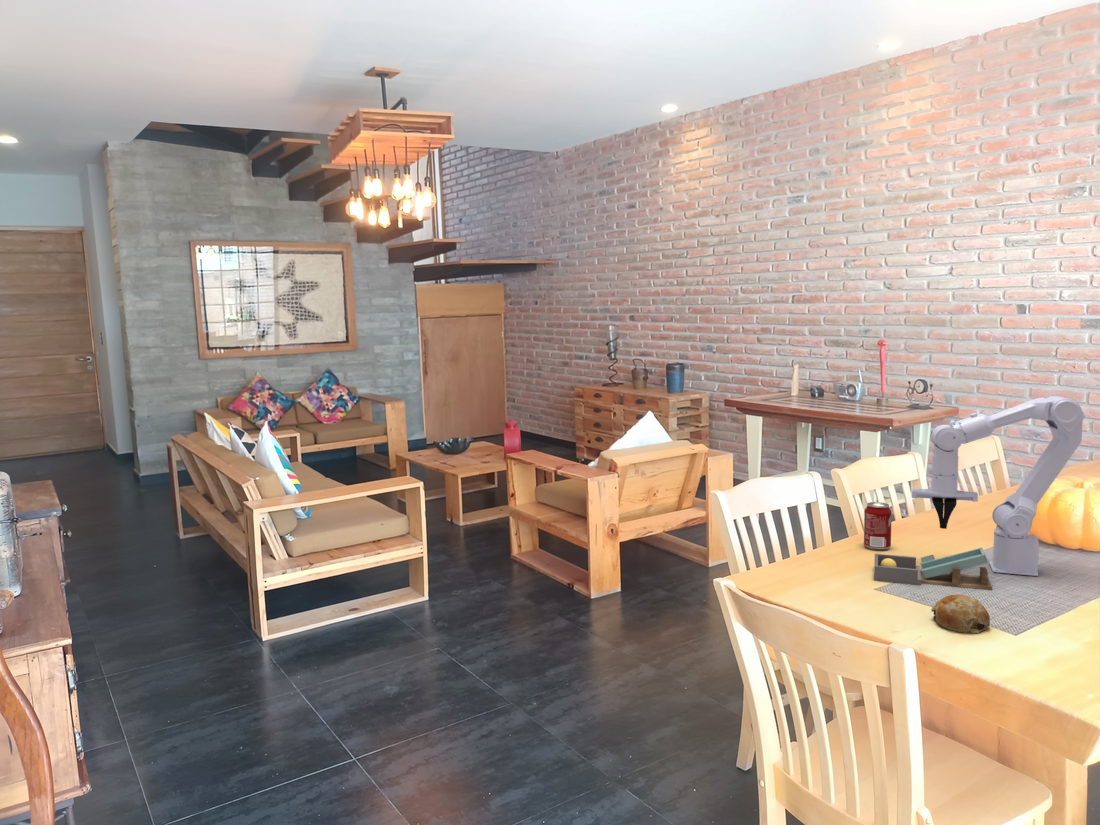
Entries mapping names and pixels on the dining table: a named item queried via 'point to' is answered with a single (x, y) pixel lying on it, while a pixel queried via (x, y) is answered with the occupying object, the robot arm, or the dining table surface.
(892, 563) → the ball
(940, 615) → the bread roll
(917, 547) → the dining table surface
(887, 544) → the soda can
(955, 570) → the base
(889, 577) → the tray
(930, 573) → the lever
